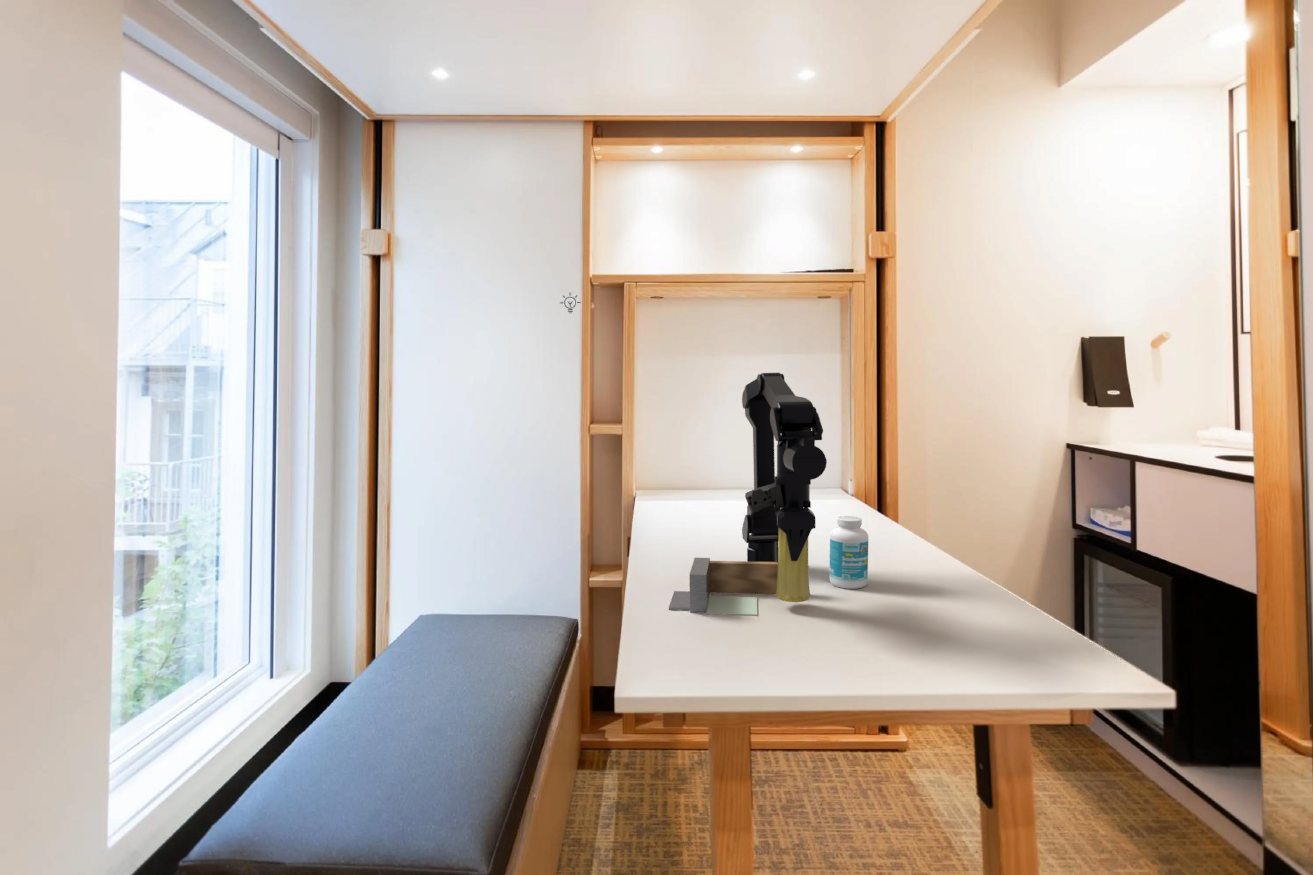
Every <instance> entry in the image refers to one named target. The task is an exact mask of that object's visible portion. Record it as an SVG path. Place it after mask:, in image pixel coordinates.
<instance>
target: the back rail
mask: <svg viewBox="0 0 1313 875" xmlns="http://www.w3.org/2000/svg"><path fill="white" fill-rule="evenodd" d="M777 576H778V562H747V561H742V560H738V561H737V560H710V594H740V595H741V594H742V595H749V594H750V595H775V596H776V593H777Z"/></svg>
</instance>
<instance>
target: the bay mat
mask: <svg viewBox="0 0 1313 875" xmlns="http://www.w3.org/2000/svg"><path fill="white" fill-rule="evenodd" d="M705 614H706V615H724V616H725V615H728V616H729V615H731V616H732V615H734V616H758V597H757V596H756V597H755V596H753V597H751V596H724V595H723V596H722V595H719V596H717V595H716V596H715V595H710V597H709V602H708V608H707V612H706V613H705Z"/></svg>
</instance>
